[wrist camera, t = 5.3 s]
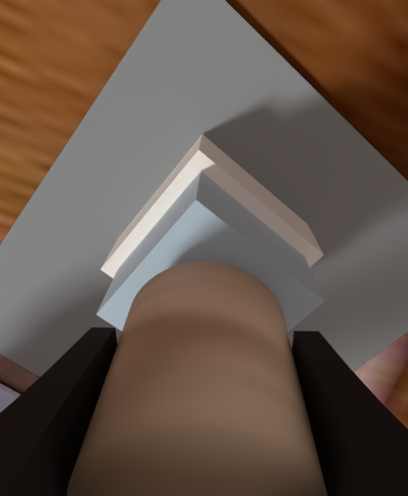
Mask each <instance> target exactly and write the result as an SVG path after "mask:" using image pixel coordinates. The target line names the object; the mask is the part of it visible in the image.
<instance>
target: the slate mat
mask: <svg viewBox="0 0 408 496" xmlns="http://www.w3.org/2000/svg"><path fill="white" fill-rule="evenodd" d="M202 134H203V135H204V136H205V137H207V138H208V139H209V140H210V141H211V142H212V143H214V144H215V145H216V146H217V147H218V148H219V149H221V150H222V151H223V152H224V153H225V154H226V155H228V156H229V157H230V158H231V159H232V160H233V161H235V162H236V163H237V164H238V165H239V166H240V167H242V168H243V169H244V170H245V171H246V172H247V173H249V174H250V175H251V176H252V177H253V178H254V179H256V180H257V181H258V182H259V183H260V184H261V185H263V186H264V187H265V188H266V189H267V190H268V191H270V192H271V193H272V194H273V195H274V196H275V197H277V198H278V199H279V200H280V201H281V202H282V203H284V204H285V205H286V206H287V207H288V208H289V209H291V210H292V211H293V212H294V213H295V214H296V215H298V216H299V217H300V218H301V219H302V220H303V221H305V222H306V223H307V224H308V226H309V228H310V230H311V232H312V233H313V235H314V237H315V239H316V241H317V243H318V245H319V247H320V249H321V250H322V252H323V254H324V255H323V256H322V257H321V258H320V259H319V260H318V261H317V262H316V263H315V264H313V265H312V266H311V267H310V270H311V272H312V275H313V277H314V279H315V282H316V284H317V286H318V289H319V291H320V293H321V296H322V298H323V300H324V302H323V303H322V304H321V305H320V306H318V307H317V308H316V309H315V310H314V311H312V312H311V313H310V314H309V315H308V316H307V317H305V318H304V319H303V320H302V321H301V322H299V323H298V324H297V325H296V326H295V327H294V328H292V329H291V330H290V331H289V332H288V336H289V340H290V344H291V348H292V342H293V334H294V331H319V332H320V333H321V334H322V335H323V337H324V338H325V339H326V340H327V341H328V343H329V344H330V345H331V346H332V347H333V349H334V350H335V351H336V352H337V353H338V355H339V356H340V357H341V358H342V359H343V360H344V362H345V363H346V364H347V365H348V366H349V367H350V369H351V370H352V371H353V372H354V371H355V370H357V369H358V368H359V367H361V366H362V365H363V364H365V363H366V362H367V361H369V360H370V359H372V358H373V357H374V356H376V355H377V354H378V353H380V352H381V351H382V350H384V349H385V348H387V347H388V346H389V345H391V344H392V343H393V342H395V341H396V340H397V339H399V338H400V337H402V336H403V335H404V334H406V333H407V332H408V181H407V180H406V179H405V178H404V177H403V176H402V175H401V174H400V173H399V172H398V171H397V170H396V169H395V168H394V167H393V166H392V165H391V164H390V163H389V162H388V161H387V160H386V159H385V158H384V157H383V156H382V155H381V154H380V153H379V152H378V151H377V150H376V149H375V148H374V147H373V146H372V145H371V144H370V143H369V142H368V141H367V140H366V139H365V138H364V137H363V136H362V135H361V134H360V133H359V132H358V131H357V130H356V129H355V128H354V127H353V126H352V125H350V124H349V123H348V122H347V121H346V120H345V119H344V118H343V117H342V116H341V115H340V114H339V113H338V112H337V111H336V110H335V109H334V108H333V107H332V106H331V105H330V104H329V103H328V102H327V101H326V100H325V99H324V98H323V97H322V96H321V95H320V94H319V93H318V92H317V91H316V90H315V89H314V88H313V87H312V86H311V85H310V84H309V83H308V82H307V81H306V80H305V79H304V78H303V77H302V76H301V75H300V74H299V73H298V72H297V71H296V70H295V69H294V68H293V67H292V66H291V65H290V64H289V63H288V62H287V61H286V60H285V59H284V58H283V57H282V56H281V55H280V54H279V53H278V52H277V51H276V50H275V49H274V48H273V47H272V46H271V45H270V44H269V43H268V42H267V41H266V40H265V39H264V38H263V37H262V36H261V35H260V34H259V33H258V32H257V31H256V30H255V29H254V28H253V27H251V26H250V25H249V24H248V23H247V22H246V21H245V20H244V19H243V18H242V17H241V16H240V15H239V14H238V13H237V12H236V11H235V10H234V9H233V8H232V7H231V6H230V5H229V4H228V3H227V2H226V1H225V0H161V1H160V3H159V4H158V6H157V7H156V9H155V10H154V12H153V14H152V15H151V17H150V18H149V20H148V21H147V23H146V24H145V26H144V27H143V29H142V30H141V32H140V33H139V35H138V36H137V38H136V39H135V41H134V42H133V44H132V45H131V47H130V48H129V50H128V52H127V53H126V55H125V56H124V58H123V59H122V61H121V62H120V64H119V65H118V67H117V68H116V70H115V71H114V73H113V74H112V76H111V77H110V79H109V80H108V82H107V83H106V85H105V87H104V88H103V90H102V91H101V93H100V94H99V96H98V97H97V99H96V100H95V102H94V103H93V105H92V106H91V108H90V109H89V111H88V112H87V114H86V115H85V117H84V118H83V120H82V121H81V123H80V125H79V126H78V128H77V129H76V131H75V132H74V134H73V135H72V137H71V138H70V140H69V141H68V143H67V144H66V146H65V147H64V149H63V150H62V152H61V153H60V155H59V156H58V158H57V159H56V161H55V163H54V164H53V166H52V167H51V169H50V170H49V172H48V173H47V175H46V176H45V178H44V179H43V181H42V182H41V184H40V185H39V187H38V188H37V190H36V191H35V193H34V194H33V196H32V197H31V199H30V201H29V202H28V204H27V205H26V207H25V208H24V210H23V211H22V213H21V214H20V216H19V217H18V219H17V220H16V222H15V223H14V225H13V226H12V228H11V229H10V231H9V232H8V234H7V236H6V237H5V239H4V240H3V242H2V243H1V245H0V355H2V356H3V357H5V358H7V359H9V360H10V361H12V362H14V363H16V364H17V365H19V366H21V367H23V368H24V369H26V370H28V371H30V372H32V373H33V374H35V375H37V376H39V377H41V376H42V375H43V374H44V373H45V372H46V371H47V370H48V369H49V368H50V367H51V366H52V365H53V364H54V363H55V362H56V361H57V360H58V359H60V358H61V357H62V356H63V355H64V354H65V353H66V352H67V351H68V350H69V349H70V348H71V347H72V346H73V345H74V344H75V343H76V342H77V341H78V340H79V339H80V338H81V337H82V336H83V335H84V334H85V333H86V332H87V331H88V330H89V329H90V328H91V327H108V328H115V329H116V337H117V344H118V341H119V338H120V336H121V333H122V331H121V330H119V329H117V328H116V327H114V326H113V325H111V324H110V323H108V322H107V321H105V320H104V319H102V318H100V317H99V316H97V315H96V314H97V312H98V310H99V308H100V305H101V303H102V301H103V299H104V297H105V295H106V293H107V291H108V289H109V287H110V285H111V283H112V281H113V278H112V277H110V276H109V275H107V274H106V273H104V272H103V271H102V270H100V269H101V268H102V266H103V264H104V262H105V261H106V259H107V257H108V255H109V253H110V252H111V250H112V248H113V246H114V245H115V243H116V241H117V239H118V237H119V236H120V235H121V234H122V233H123V231H124V230H125V229H126V228H127V226H128V225H129V224H130V223H131V221H132V220H133V219H134V218H135V216H136V215H137V214H138V213H139V211H140V210H141V209H142V208H143V207H144V205H145V204H146V203H147V202H148V200H149V199H150V198H151V197H152V195H153V194H154V193H155V192H156V190H157V189H158V188H159V187H160V186H161V184H162V183H163V182H164V181H165V179H166V178H167V177H168V176H169V174H170V173H171V172H172V171H173V169H174V168H175V167H176V166H177V164H178V163H179V162H180V161H181V160H182V158H183V157H184V156H185V155H186V153H187V152H188V151H189V150H190V148H191V147H192V146H193V145H194V143H195V142H196V141H197V140H198V139H199V137H200V136H201V135H202Z"/></svg>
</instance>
